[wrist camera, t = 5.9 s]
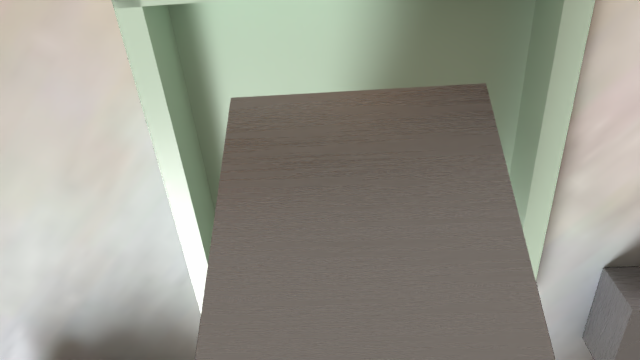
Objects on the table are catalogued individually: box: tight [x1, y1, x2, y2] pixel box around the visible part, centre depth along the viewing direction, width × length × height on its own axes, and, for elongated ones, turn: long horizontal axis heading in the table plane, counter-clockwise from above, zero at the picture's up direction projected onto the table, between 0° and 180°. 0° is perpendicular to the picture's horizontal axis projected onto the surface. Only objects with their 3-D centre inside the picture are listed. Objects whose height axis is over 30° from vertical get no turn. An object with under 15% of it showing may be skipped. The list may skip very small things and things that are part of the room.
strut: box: [195, 83, 555, 360], centre depth 11 cm, size 12×4×4 cm, turn 4°
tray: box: [112, 0, 595, 313], centre depth 17 cm, size 16×13×3 cm
